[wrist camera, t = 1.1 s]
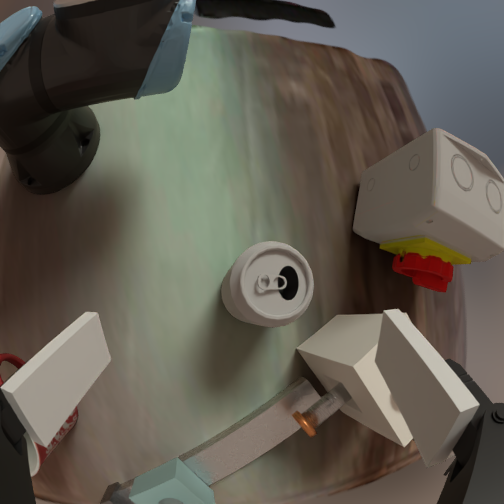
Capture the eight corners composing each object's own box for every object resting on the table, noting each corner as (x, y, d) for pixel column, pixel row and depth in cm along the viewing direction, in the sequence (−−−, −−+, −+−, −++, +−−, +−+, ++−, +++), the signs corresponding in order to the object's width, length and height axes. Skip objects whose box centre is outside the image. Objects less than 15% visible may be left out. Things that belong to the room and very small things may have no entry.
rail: (108, 485, 25) (99, 503, 20) (299, 373, 33) (314, 381, 29) (137, 512, 24) (132, 531, 20) (323, 404, 33) (340, 416, 28)
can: (281, 323, 34) (321, 327, 23) (219, 322, 33) (230, 328, 21) (281, 262, 36) (320, 239, 24) (221, 259, 35) (233, 233, 23)
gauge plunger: (287, 410, 28) (298, 421, 25) (346, 362, 30) (362, 367, 27) (303, 430, 28) (315, 442, 24) (360, 383, 30) (376, 389, 27)
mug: (93, 437, 27) (53, 485, 14) (40, 432, 25) (-8, 468, 12) (70, 345, 29) (10, 359, 16) (18, 346, 27) (-45, 354, 14)
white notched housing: (295, 348, 34) (356, 367, 20) (336, 314, 36) (410, 312, 22) (341, 411, 33) (407, 449, 19) (377, 378, 35) (450, 398, 21)
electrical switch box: (337, 270, 39) (436, 269, 20) (356, 175, 41) (443, 121, 21) (411, 292, 41) (509, 300, 22) (424, 207, 43) (514, 181, 23)
